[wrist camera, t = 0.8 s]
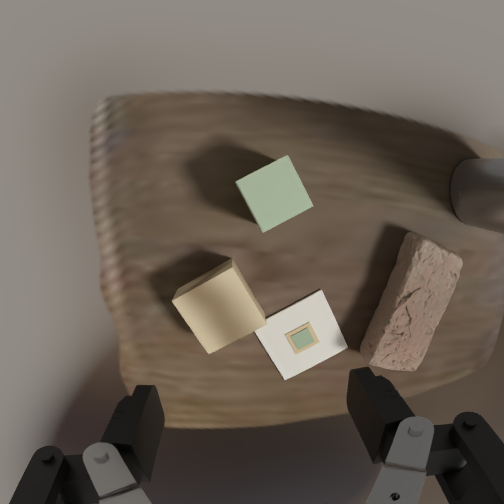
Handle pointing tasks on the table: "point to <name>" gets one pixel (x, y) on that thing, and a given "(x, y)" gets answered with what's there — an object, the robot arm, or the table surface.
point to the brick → (411, 304)
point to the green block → (274, 193)
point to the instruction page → (302, 335)
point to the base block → (219, 307)
